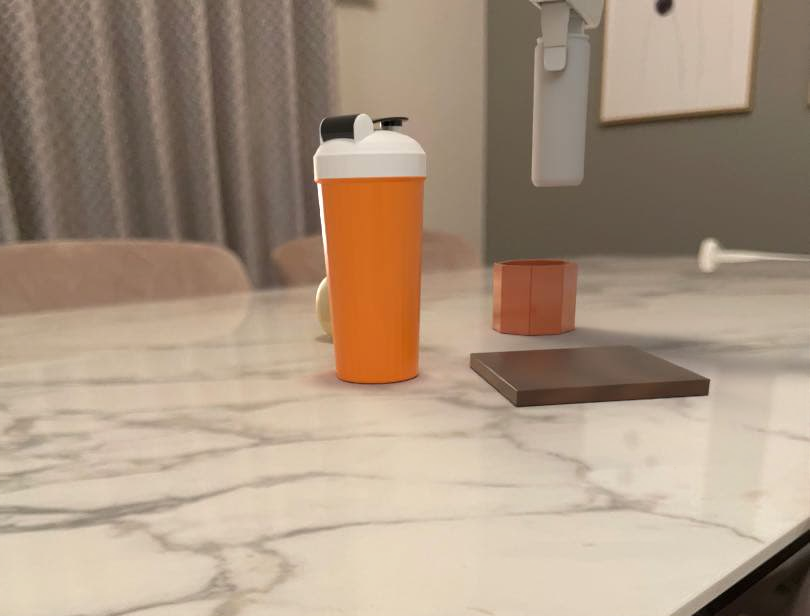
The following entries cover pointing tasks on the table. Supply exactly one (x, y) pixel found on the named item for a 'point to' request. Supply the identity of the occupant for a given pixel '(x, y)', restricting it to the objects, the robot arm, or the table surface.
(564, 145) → the beverage can
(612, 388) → the board
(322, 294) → the apple
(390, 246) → the shaker bottle
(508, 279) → the crock
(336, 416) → the table surface
